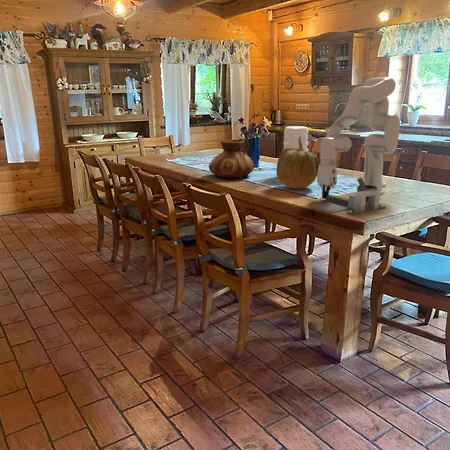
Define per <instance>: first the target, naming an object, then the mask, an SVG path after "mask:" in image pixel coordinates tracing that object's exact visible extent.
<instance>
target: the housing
mask: <svg viewBox="0 0 450 450" xmlns="http://www.w3.org/2000/svg"><path fill="white" fill-rule="evenodd" d="M354 194H355V197H354V209H349V210H345V214H346V213H347V215H350V216H356V215H359V214H364V212H365V211H366V202H367V201H366V196H368V202H367V210H371V211H377V210H382V209H385V208H386V205H383V204H380V195H381V194H380V191H379V190H374V189H372V190H366V191H361V192H357V191H356V192H354ZM365 213H366V212H365Z"/></svg>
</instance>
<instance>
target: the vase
mask: <svg viewBox="0 0 450 450" xmlns="http://www.w3.org/2000/svg"><path fill="white" fill-rule="evenodd" d="M309 132H310V131H309V127H308V126H300V125H298V126H297V125H293V126H292V125H291V126H289V125H288V126H285V128H284V130H283V134H284V135H283V142H282V143H283V149H282V150H284V149H285V148H288V147H291V146H295V147H297V148H298V149H299V143H298V138H299V136H301V142H302V145H303V150H304V151H308V152H309V148H308V145H309V141H308V139H309Z"/></svg>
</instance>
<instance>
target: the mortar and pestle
mask: <svg viewBox="0 0 450 450" xmlns="http://www.w3.org/2000/svg"><path fill="white" fill-rule="evenodd" d="M363 179H364V177H359V178H357V182H358V186H357V187H356V192H361V191H366V190H372V189H374V190H377V187H376V186H371V185H365V184H364V182H363ZM366 202H367V203H368V196H366Z"/></svg>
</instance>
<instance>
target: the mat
mask: <svg viewBox="0 0 450 450" xmlns="http://www.w3.org/2000/svg"><path fill="white" fill-rule="evenodd" d="M309 208H312V209H315V210H319V211H322V212H325V213H329V214H334V213H339V212H343V211H349V210H353V209H352V208H351V207H347V206H343V205H339V204H335V203H332V202H325V203H320V204H314V205H310V206H309Z"/></svg>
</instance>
